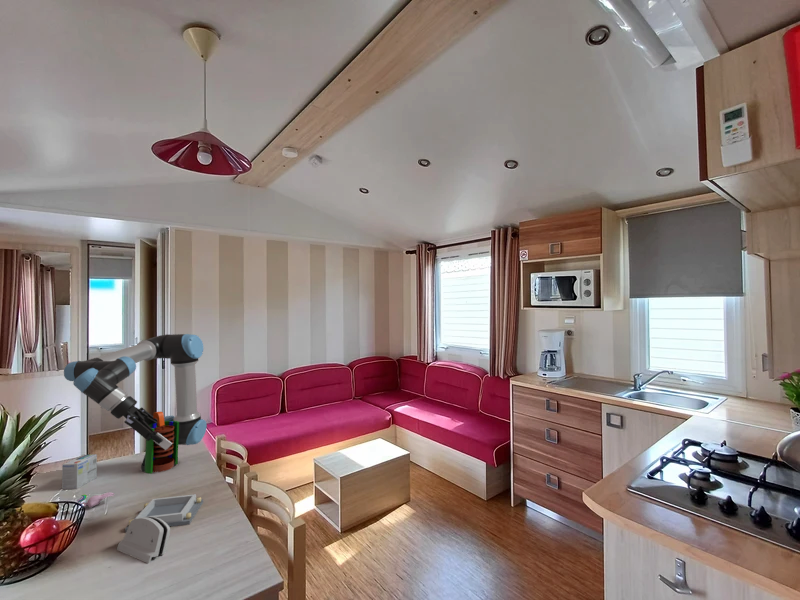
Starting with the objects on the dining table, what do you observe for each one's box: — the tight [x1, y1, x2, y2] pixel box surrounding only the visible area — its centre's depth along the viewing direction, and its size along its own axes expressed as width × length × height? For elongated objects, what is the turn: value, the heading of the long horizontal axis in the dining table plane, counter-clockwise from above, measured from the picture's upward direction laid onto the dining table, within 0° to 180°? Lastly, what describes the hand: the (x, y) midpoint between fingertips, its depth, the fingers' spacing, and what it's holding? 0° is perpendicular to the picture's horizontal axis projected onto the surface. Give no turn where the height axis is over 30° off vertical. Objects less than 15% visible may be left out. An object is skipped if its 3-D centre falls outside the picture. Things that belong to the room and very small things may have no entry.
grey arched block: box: [116, 517, 171, 564], centre depth 114 cm, size 17×5×10 cm, turn 66°
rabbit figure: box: [76, 491, 115, 508], centre depth 139 cm, size 6×6×15 cm
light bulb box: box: [61, 453, 98, 490], centre depth 159 cm, size 11×7×11 cm, turn 2°
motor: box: [144, 411, 179, 475], centre depth 132 cm, size 10×9×20 cm
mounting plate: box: [124, 493, 204, 533], centre depth 132 cm, size 15×20×4 cm
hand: (171, 443), depth 133 cm, fingers closed on motor, 7 cm apart
